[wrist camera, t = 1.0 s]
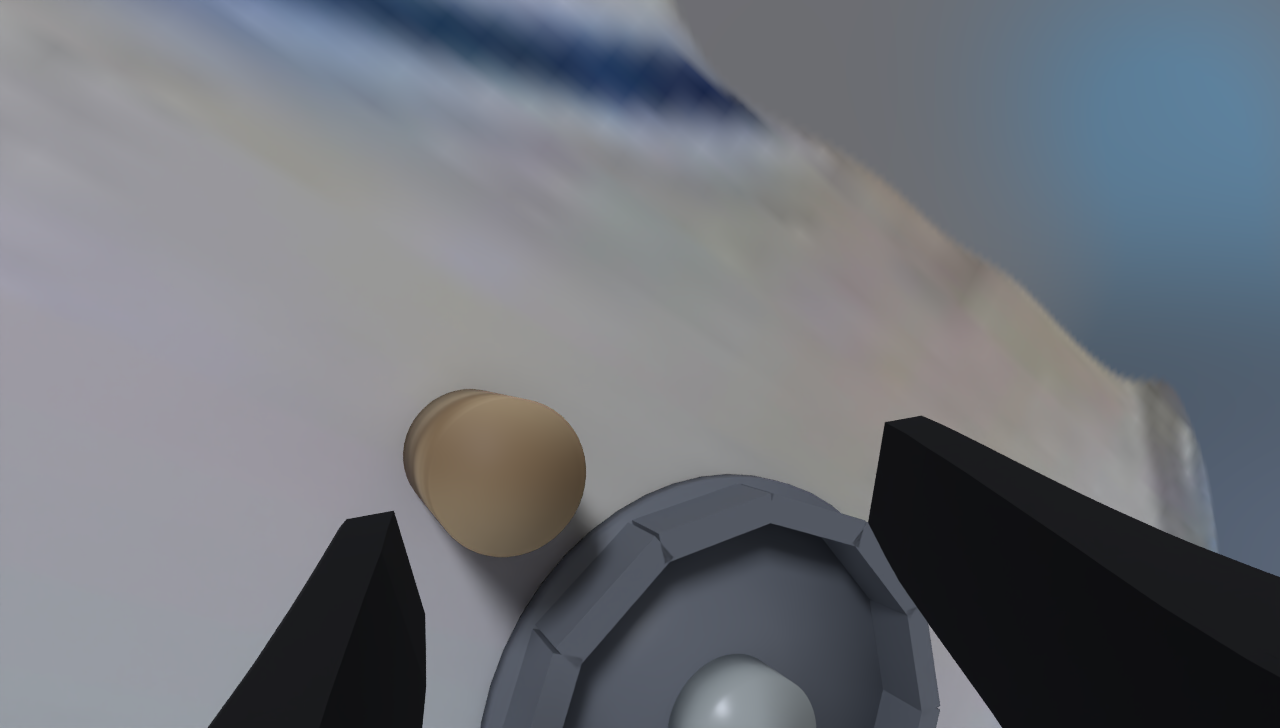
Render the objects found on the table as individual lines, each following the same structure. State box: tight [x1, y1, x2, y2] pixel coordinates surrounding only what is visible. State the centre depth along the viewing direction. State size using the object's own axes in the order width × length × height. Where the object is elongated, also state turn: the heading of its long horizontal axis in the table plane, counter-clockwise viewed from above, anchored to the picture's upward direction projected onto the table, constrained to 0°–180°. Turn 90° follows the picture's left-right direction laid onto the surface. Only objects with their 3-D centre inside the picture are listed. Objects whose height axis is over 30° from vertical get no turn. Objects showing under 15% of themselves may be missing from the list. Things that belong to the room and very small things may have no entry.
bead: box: [403, 389, 586, 557], centre depth 20 cm, size 4×4×5 cm
